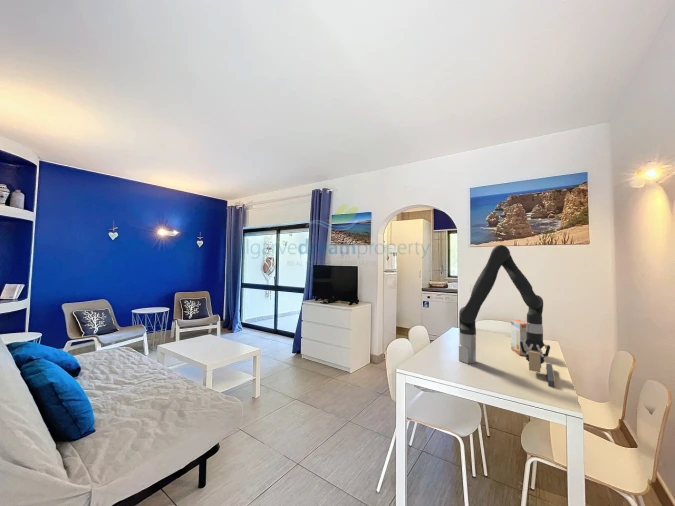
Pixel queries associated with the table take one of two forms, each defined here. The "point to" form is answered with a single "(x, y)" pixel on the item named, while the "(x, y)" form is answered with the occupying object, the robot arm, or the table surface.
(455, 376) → the table surface
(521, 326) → the cracker box
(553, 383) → the rail
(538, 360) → the carton
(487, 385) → the table surface
